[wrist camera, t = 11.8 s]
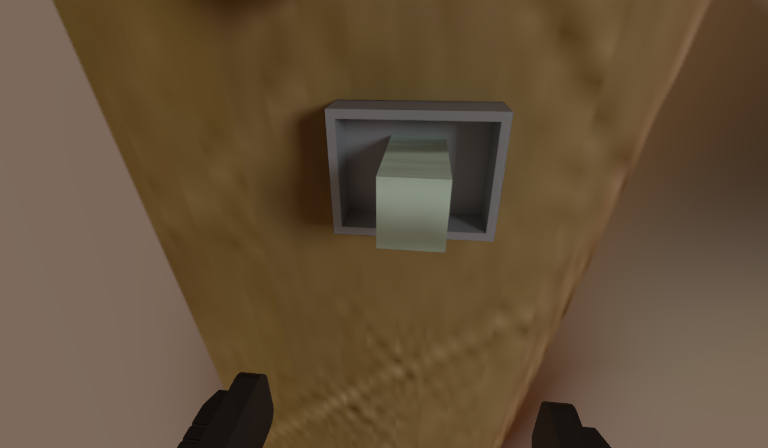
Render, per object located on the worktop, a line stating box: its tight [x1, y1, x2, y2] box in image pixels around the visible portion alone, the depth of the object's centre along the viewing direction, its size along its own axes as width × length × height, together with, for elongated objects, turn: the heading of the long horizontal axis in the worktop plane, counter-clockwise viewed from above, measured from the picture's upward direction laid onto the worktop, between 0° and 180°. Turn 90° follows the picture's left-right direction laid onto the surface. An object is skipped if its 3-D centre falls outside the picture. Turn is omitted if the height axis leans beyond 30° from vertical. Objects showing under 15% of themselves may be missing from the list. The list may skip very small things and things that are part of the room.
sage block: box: [376, 135, 452, 252], centre depth 28 cm, size 5×4×10 cm
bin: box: [325, 100, 513, 241], centre depth 31 cm, size 10×13×4 cm
